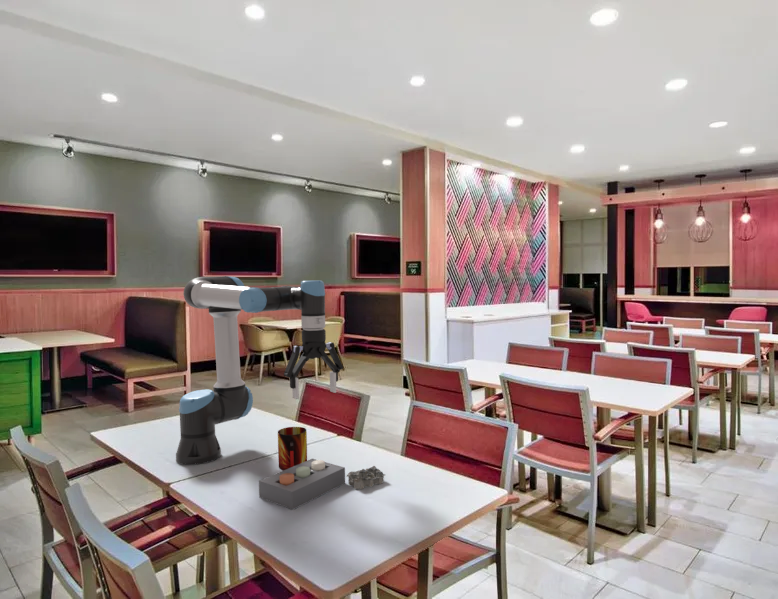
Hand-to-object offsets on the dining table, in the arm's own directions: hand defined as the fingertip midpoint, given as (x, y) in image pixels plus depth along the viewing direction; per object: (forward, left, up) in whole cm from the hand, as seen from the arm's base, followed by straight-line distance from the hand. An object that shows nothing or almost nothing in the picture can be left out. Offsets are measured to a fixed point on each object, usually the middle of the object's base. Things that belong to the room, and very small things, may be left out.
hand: (314, 395), depth 168 cm
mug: (-11, +2, -27) cm, 29 cm away
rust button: (+5, -17, -23) cm, 29 cm away
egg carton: (+17, +5, -27) cm, 32 cm away
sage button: (+5, -10, -23) cm, 26 cm away
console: (+5, -10, -26) cm, 29 cm away
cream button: (+5, -4, -23) cm, 24 cm away
